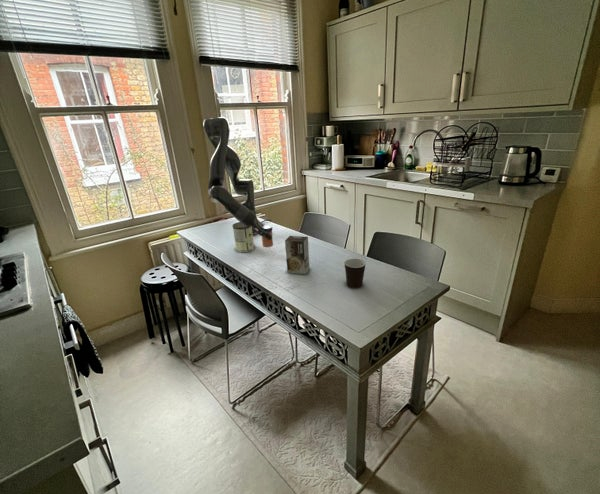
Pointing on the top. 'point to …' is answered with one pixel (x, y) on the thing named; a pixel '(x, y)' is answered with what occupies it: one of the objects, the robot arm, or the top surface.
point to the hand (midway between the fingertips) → (270, 236)
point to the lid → (267, 228)
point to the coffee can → (243, 237)
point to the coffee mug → (354, 272)
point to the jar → (267, 242)
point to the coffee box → (297, 254)
